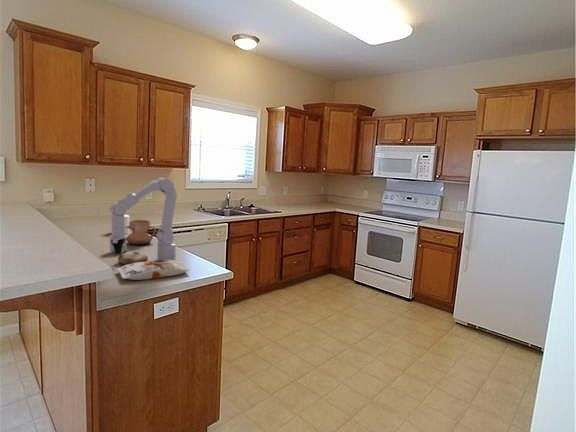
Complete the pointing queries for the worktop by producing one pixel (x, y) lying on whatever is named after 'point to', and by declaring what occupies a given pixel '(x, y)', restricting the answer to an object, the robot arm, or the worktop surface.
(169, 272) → the dog food
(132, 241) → the ceramic jug
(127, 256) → the turntable
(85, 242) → the worktop surface
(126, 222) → the toilet paper
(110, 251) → the medicine box
